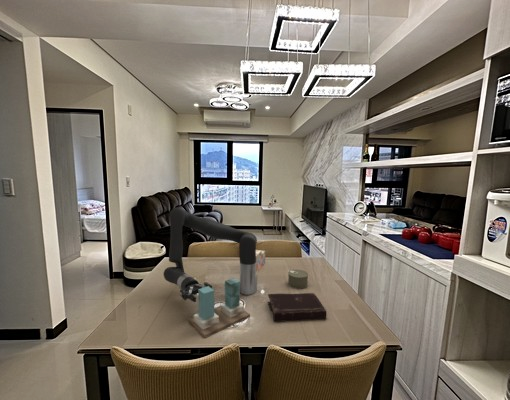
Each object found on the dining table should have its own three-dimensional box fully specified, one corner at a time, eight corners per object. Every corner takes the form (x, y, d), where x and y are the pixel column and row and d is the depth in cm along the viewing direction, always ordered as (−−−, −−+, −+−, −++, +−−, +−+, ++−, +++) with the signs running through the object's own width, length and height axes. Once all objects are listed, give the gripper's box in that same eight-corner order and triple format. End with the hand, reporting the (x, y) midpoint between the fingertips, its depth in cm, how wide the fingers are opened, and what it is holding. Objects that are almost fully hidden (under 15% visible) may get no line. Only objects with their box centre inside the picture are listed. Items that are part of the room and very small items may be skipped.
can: (301, 290, 144) (301, 279, 144) (284, 284, 152) (284, 273, 151) (311, 283, 153) (311, 273, 153) (294, 278, 161) (294, 268, 160)
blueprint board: (231, 303, 128) (231, 273, 127) (250, 316, 117) (250, 283, 115) (188, 321, 113) (187, 286, 111) (204, 337, 102) (204, 300, 100)
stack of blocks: (257, 261, 190) (257, 245, 189) (265, 262, 188) (265, 246, 187) (247, 271, 170) (247, 254, 169) (256, 273, 168) (256, 255, 167)
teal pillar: (208, 311, 114) (208, 286, 112) (214, 316, 110) (214, 290, 109) (198, 315, 110) (198, 289, 109) (204, 320, 107) (204, 293, 105)
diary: (326, 320, 116) (327, 310, 116) (274, 323, 113) (274, 313, 113) (312, 299, 135) (313, 291, 134) (267, 302, 132) (267, 293, 131)
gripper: (173, 280, 118) (189, 293, 106) (200, 273, 127) (217, 284, 115) (173, 295, 119) (189, 310, 106) (200, 287, 128) (217, 299, 116)
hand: (204, 296), depth 111 cm, fingers open, 8 cm apart
